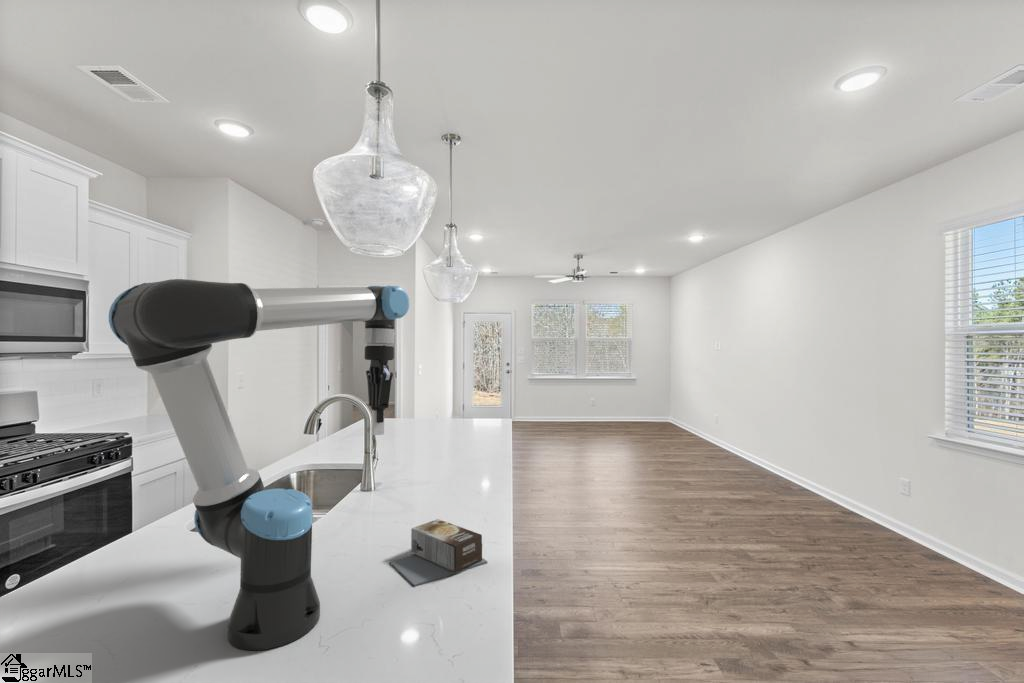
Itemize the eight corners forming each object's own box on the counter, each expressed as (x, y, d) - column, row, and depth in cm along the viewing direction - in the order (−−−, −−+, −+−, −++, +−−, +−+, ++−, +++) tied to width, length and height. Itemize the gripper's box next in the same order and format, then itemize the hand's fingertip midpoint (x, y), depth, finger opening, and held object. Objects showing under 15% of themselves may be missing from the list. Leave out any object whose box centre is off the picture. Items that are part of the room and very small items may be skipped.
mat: (414, 586, 99) (414, 584, 99) (389, 563, 109) (389, 561, 109) (487, 562, 110) (487, 561, 110) (458, 543, 121) (458, 542, 121)
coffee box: (438, 517, 121) (483, 533, 111) (437, 541, 121) (483, 560, 111) (410, 527, 114) (456, 546, 104) (410, 553, 114) (455, 574, 103)
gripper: (403, 345, 119) (401, 436, 118) (383, 345, 129) (382, 429, 129) (374, 344, 114) (372, 440, 114) (357, 344, 124) (355, 432, 124)
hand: (377, 434), depth 121 cm, fingers closed
